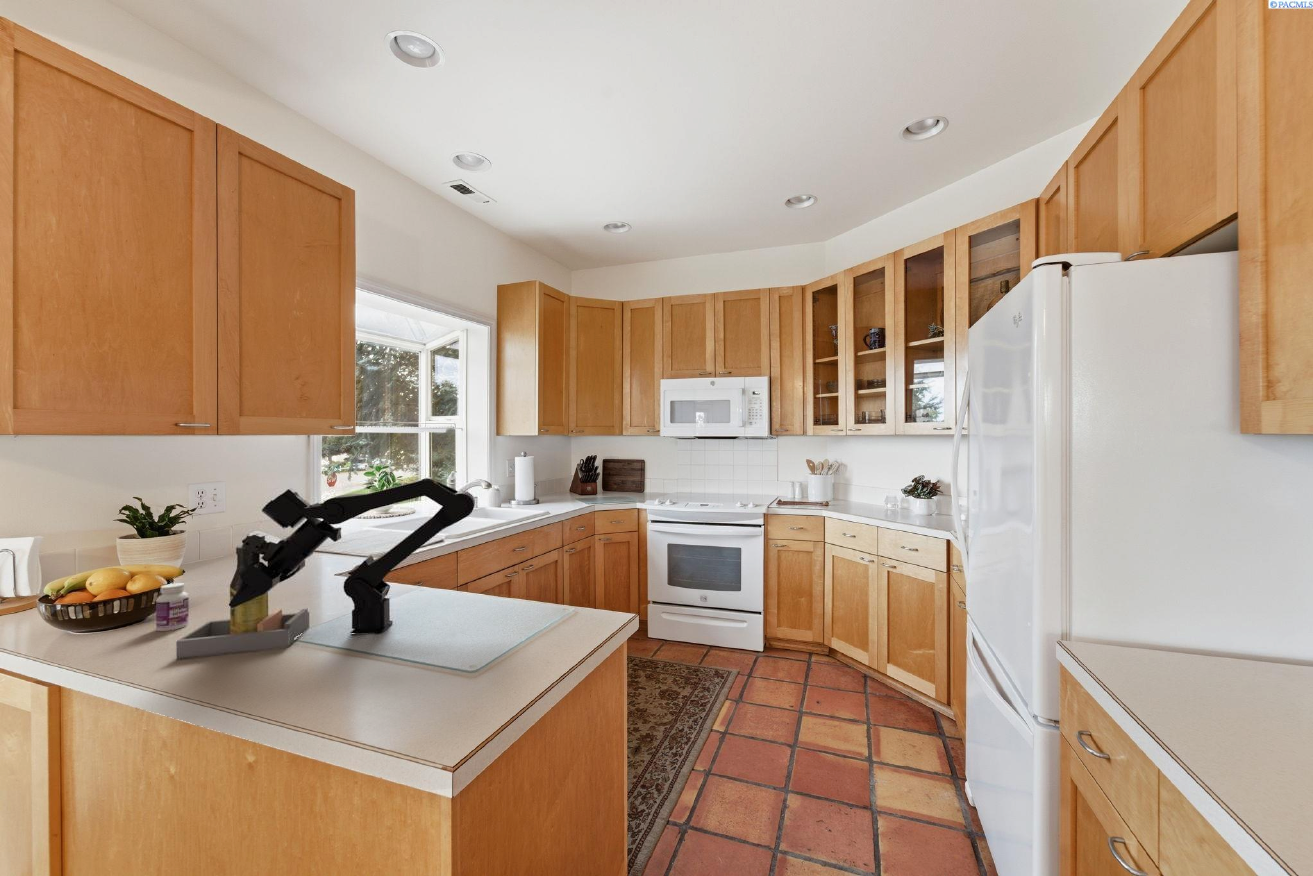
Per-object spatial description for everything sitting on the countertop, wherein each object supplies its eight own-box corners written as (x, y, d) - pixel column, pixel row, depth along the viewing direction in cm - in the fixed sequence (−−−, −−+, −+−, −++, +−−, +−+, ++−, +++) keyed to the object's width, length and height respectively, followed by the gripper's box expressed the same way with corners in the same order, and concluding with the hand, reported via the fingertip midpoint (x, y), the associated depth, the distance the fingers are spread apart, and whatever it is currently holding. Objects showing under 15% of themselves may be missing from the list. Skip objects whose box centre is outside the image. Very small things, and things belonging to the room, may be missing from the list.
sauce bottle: (236, 637, 109) (235, 543, 109) (272, 632, 112) (271, 540, 112) (225, 648, 103) (224, 549, 103) (263, 642, 106) (262, 546, 106)
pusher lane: (309, 627, 116) (309, 607, 116) (288, 647, 104) (288, 625, 104) (210, 637, 111) (210, 616, 111) (176, 659, 99) (176, 636, 99)
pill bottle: (173, 632, 114) (172, 588, 114) (149, 632, 114) (149, 588, 114) (195, 623, 119) (195, 581, 119) (172, 623, 119) (172, 581, 119)
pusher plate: (282, 628, 113) (282, 609, 113) (263, 644, 104) (263, 623, 104) (276, 629, 113) (276, 609, 113) (257, 645, 104) (257, 623, 104)
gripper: (288, 512, 118) (231, 564, 115) (250, 524, 100) (181, 586, 97) (328, 544, 120) (273, 596, 117) (298, 562, 102) (232, 624, 99)
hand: (241, 599), depth 107 cm, fingers open, 9 cm apart
